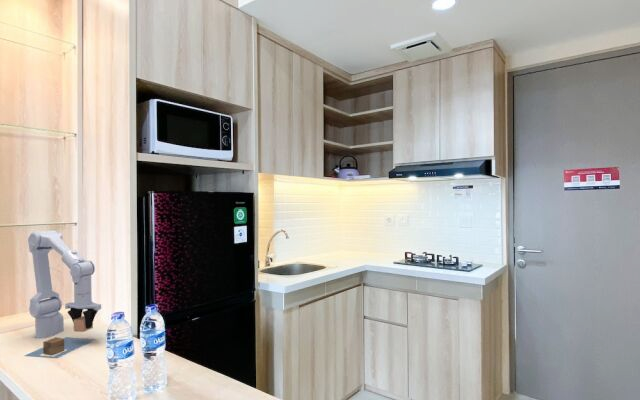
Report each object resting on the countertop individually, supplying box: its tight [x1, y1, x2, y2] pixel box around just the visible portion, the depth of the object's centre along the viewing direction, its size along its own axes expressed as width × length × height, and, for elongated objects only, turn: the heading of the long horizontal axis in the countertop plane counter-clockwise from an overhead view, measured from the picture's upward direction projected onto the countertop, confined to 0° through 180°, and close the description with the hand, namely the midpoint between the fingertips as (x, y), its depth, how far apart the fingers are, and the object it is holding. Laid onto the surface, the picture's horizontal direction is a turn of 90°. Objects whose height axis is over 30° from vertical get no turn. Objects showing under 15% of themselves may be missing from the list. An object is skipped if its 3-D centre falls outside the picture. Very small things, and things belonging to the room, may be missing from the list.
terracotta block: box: [73, 315, 94, 333], centre depth 146 cm, size 4×4×4 cm
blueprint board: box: [24, 337, 96, 359], centre depth 142 cm, size 18×14×1 cm
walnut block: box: [42, 336, 65, 356], centre depth 137 cm, size 4×4×4 cm
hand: (83, 327), depth 146 cm, fingers closed on terracotta block, 4 cm apart
